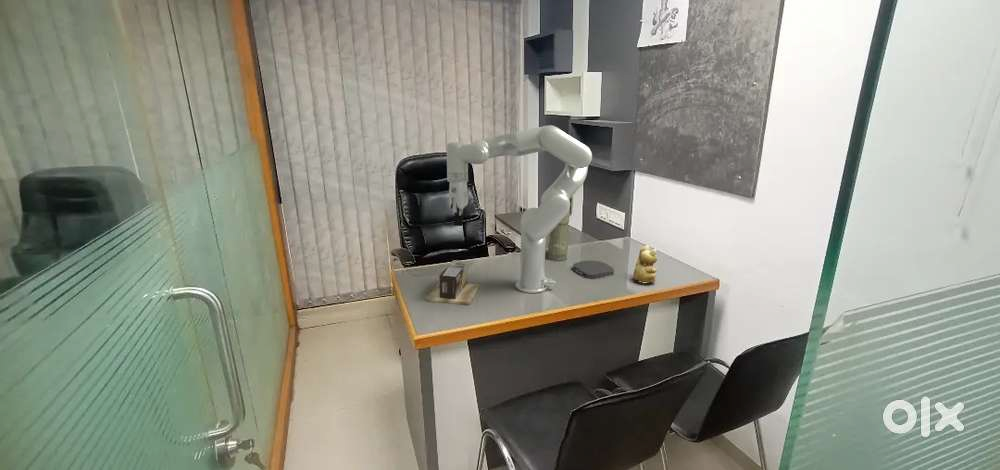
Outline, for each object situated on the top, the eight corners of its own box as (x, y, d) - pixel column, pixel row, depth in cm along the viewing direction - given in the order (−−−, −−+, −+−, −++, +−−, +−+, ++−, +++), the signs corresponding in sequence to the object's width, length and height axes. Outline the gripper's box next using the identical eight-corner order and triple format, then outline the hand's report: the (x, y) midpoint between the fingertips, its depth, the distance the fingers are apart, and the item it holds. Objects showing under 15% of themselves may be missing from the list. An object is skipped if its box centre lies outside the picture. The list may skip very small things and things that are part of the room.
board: (479, 287, 179) (479, 285, 179) (469, 305, 164) (469, 302, 164) (439, 283, 182) (439, 281, 182) (426, 300, 167) (426, 298, 167)
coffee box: (452, 259, 180) (438, 274, 165) (468, 261, 178) (455, 276, 163) (452, 281, 182) (439, 297, 167) (468, 283, 181) (456, 299, 166)
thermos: (573, 259, 212) (578, 184, 201) (552, 263, 206) (556, 186, 196) (562, 253, 219) (566, 180, 209) (541, 256, 214) (544, 182, 203)
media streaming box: (617, 275, 194) (618, 269, 193) (589, 281, 188) (589, 274, 187) (596, 264, 207) (596, 258, 206) (569, 269, 201) (569, 262, 200)
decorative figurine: (659, 284, 185) (663, 248, 181) (644, 288, 181) (649, 252, 177) (640, 276, 193) (644, 242, 189) (626, 279, 189) (630, 245, 185)
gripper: (462, 181, 159) (462, 231, 165) (472, 173, 173) (472, 220, 179) (441, 180, 161) (442, 230, 166) (453, 173, 175) (454, 219, 180)
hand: (458, 225), depth 172 cm, fingers closed
